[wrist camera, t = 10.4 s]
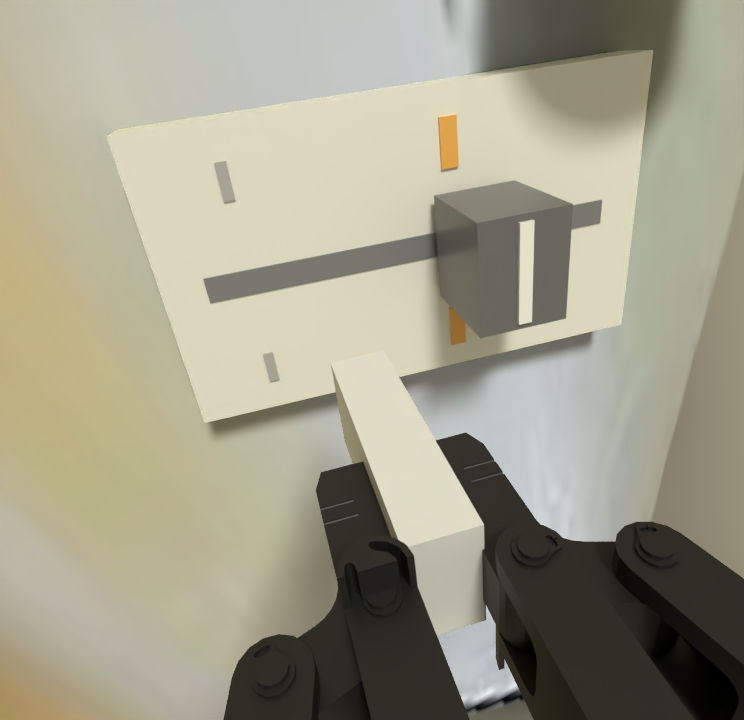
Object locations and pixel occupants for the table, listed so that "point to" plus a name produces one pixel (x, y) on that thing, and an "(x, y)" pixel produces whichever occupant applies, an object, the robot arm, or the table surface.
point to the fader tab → (503, 256)
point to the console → (373, 219)
